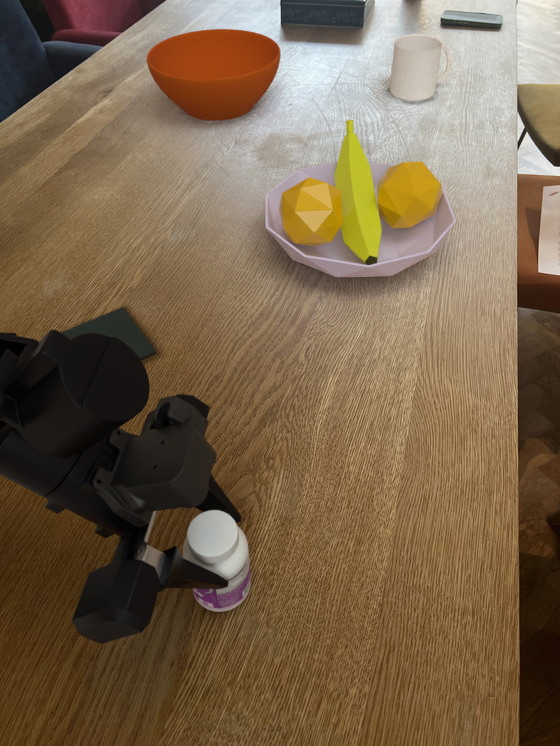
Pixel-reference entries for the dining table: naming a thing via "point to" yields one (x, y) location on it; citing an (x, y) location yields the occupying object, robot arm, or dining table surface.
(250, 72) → the bowl
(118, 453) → the robot arm
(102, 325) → the mat
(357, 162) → the fruit bowl
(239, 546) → the pill bottle
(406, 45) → the mug
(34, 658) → the dining table surface
